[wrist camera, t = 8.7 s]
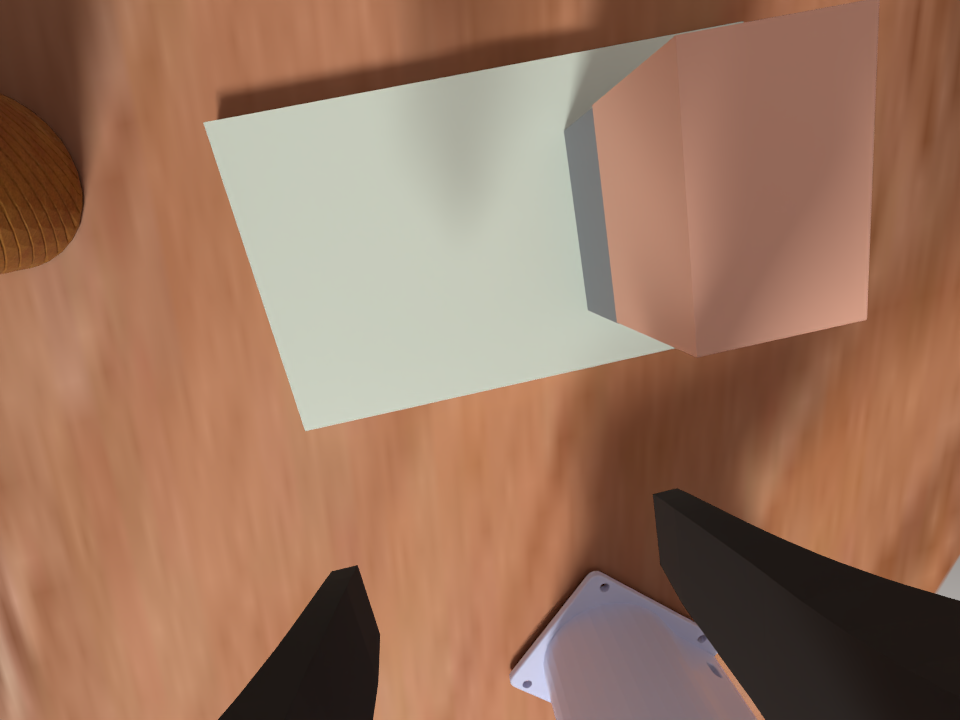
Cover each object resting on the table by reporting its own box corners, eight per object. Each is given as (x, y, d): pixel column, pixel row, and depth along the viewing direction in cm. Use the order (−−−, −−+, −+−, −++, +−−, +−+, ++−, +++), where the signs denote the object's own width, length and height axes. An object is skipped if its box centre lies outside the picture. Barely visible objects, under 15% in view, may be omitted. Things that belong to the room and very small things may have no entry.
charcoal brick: (676, 108, 17) (729, 80, 14) (689, 288, 19) (738, 297, 16) (563, 130, 17) (592, 106, 14) (587, 310, 19) (617, 323, 16)
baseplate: (726, 33, 18) (743, 21, 17) (738, 326, 21) (753, 330, 20) (216, 129, 17) (203, 122, 16) (311, 421, 20) (305, 431, 19)
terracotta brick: (729, 78, 14) (879, -2, 10) (737, 296, 16) (866, 319, 11) (592, 104, 14) (675, 35, 9) (616, 322, 16) (696, 357, 11)
